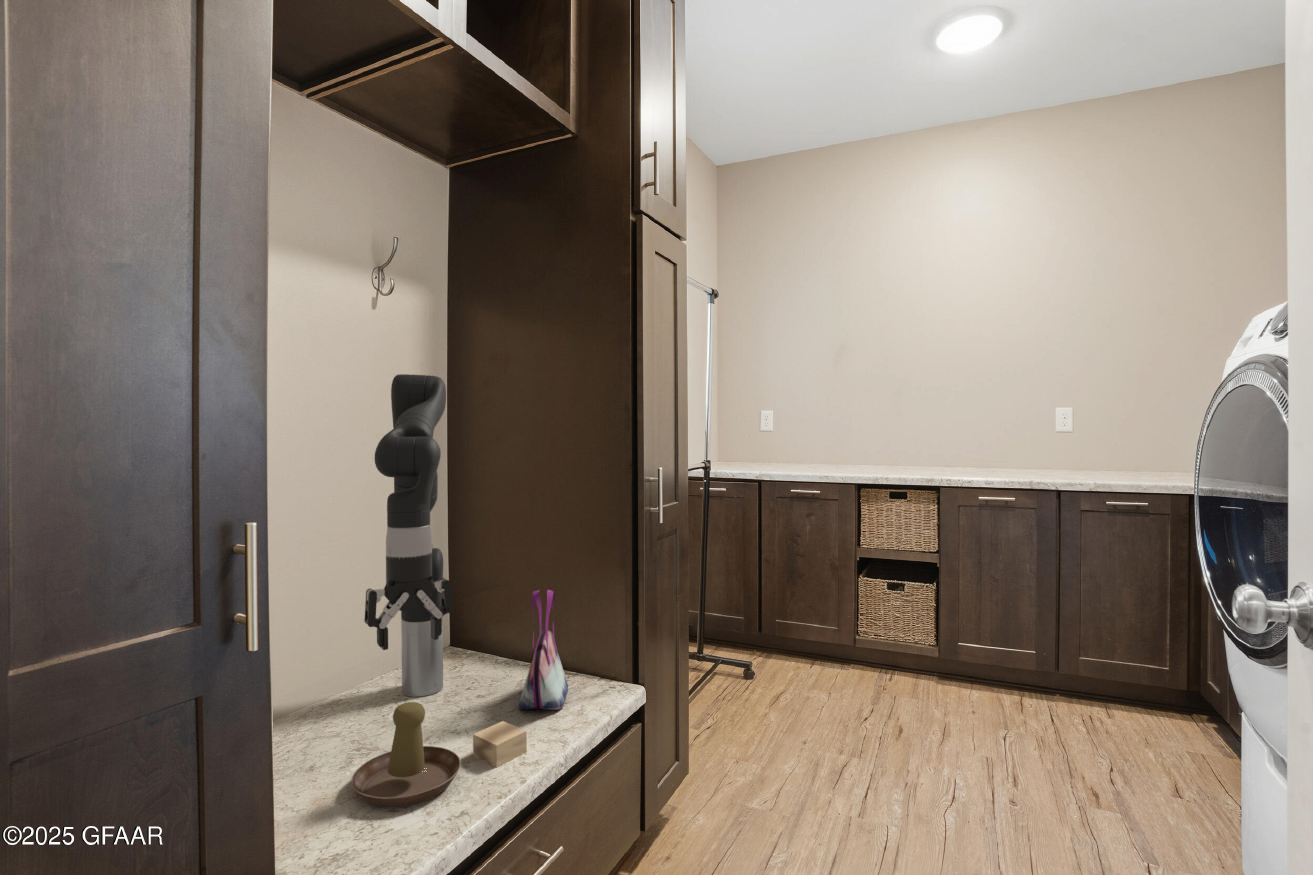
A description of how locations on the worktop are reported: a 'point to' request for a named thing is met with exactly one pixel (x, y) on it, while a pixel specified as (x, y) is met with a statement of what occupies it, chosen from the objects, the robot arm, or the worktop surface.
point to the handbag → (544, 667)
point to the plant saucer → (405, 779)
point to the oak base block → (499, 743)
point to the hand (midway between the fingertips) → (410, 643)
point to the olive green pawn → (407, 741)
